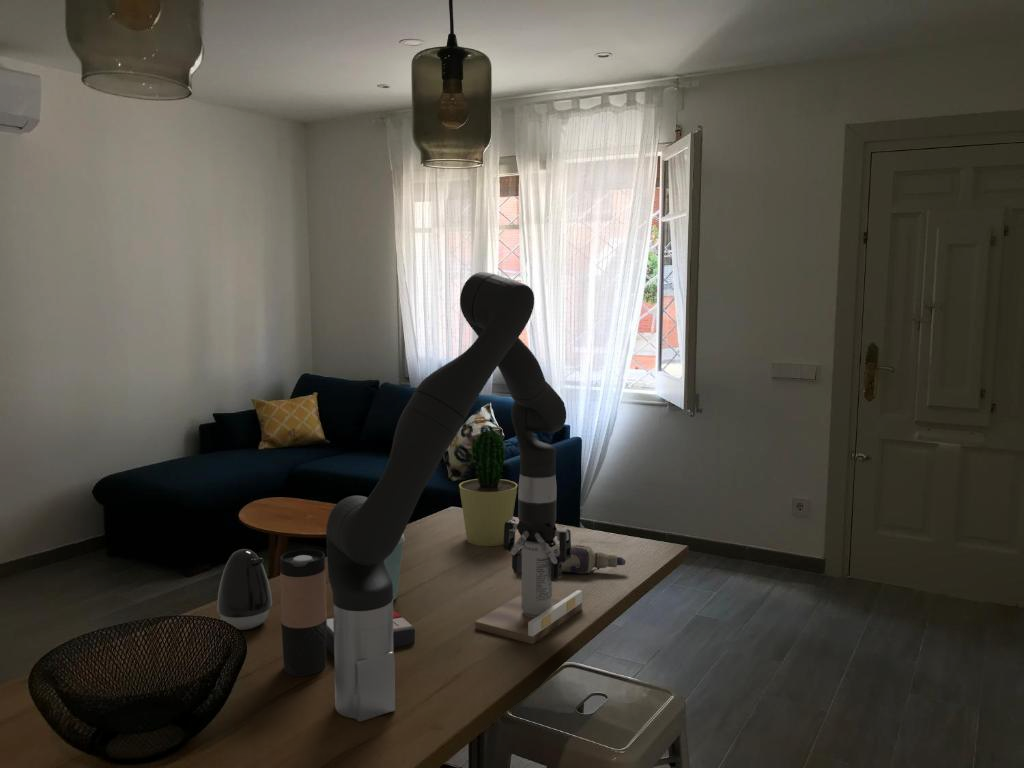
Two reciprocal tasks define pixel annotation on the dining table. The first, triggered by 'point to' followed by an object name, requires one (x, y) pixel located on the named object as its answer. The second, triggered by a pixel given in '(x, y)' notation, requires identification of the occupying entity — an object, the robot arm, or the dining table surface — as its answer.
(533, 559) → the energy drink can
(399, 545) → the disposable coffee cup
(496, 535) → the potted cactus
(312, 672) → the travel mug
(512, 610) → the shelf board
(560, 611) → the price rail
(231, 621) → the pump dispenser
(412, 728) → the dining table surface
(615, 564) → the decorative bottle
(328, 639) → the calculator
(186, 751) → the dining table surface
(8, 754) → the dining table surface
